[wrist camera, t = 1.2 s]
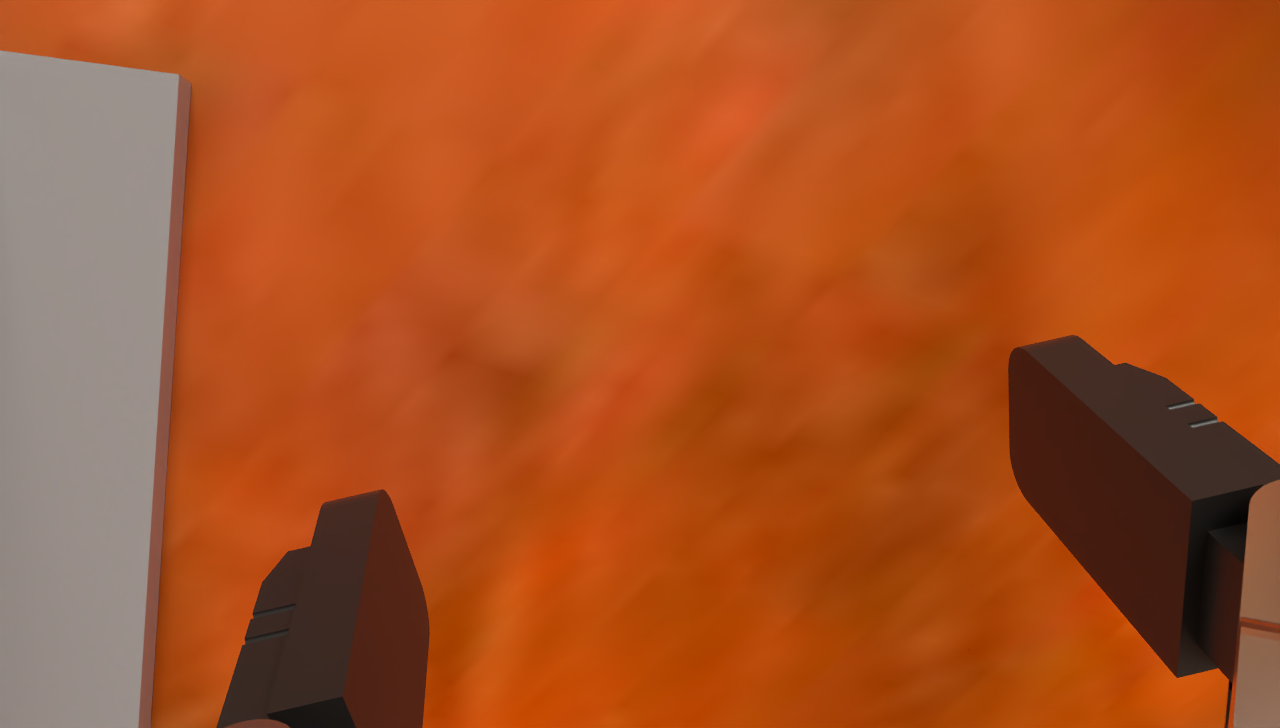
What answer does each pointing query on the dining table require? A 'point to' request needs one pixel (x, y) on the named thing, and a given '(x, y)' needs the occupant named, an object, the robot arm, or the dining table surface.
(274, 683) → the robot arm
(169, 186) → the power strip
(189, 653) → the dining table surface
